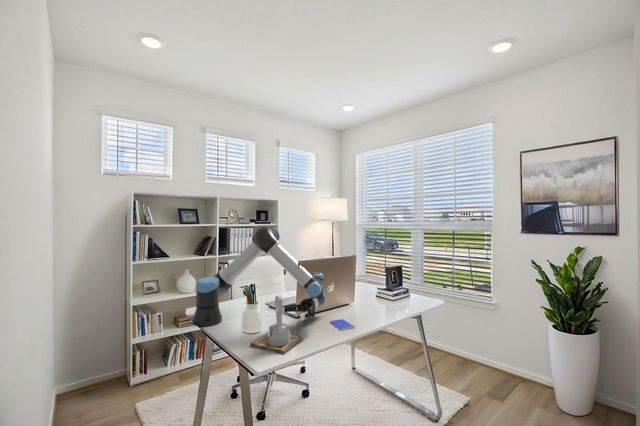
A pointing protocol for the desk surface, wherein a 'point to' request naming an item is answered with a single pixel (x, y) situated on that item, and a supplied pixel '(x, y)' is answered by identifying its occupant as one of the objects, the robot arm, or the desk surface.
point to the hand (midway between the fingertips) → (288, 316)
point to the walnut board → (264, 344)
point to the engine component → (279, 327)
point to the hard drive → (342, 324)
